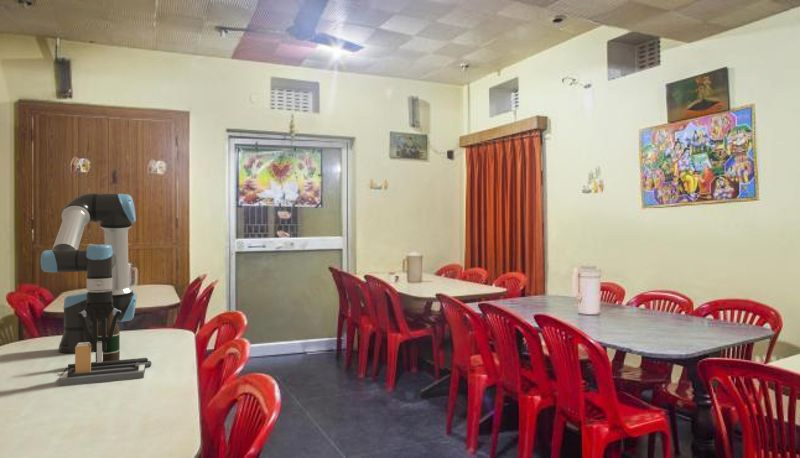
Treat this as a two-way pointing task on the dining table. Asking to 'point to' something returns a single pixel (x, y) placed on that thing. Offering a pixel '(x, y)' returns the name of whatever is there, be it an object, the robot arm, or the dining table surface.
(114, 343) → the beer bottle
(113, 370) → the grey rectangular tray
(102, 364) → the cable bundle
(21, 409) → the dining table surface
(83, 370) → the block
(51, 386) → the dining table surface
